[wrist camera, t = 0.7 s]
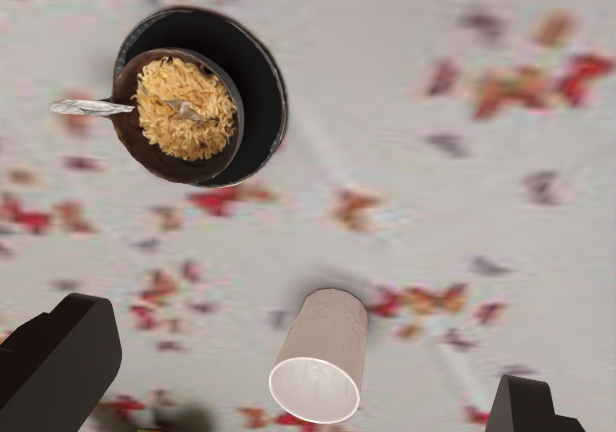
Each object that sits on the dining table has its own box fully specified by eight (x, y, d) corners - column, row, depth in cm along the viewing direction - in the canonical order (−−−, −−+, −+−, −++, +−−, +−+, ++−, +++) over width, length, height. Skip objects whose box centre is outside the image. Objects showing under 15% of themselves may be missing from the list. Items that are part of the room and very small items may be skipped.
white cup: (312, 270, 51) (285, 343, 43) (387, 304, 51) (375, 384, 43) (286, 323, 55) (256, 399, 47) (355, 354, 55) (338, 436, 47)
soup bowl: (237, 209, 50) (206, 253, 43) (88, 110, 48) (34, 141, 42) (322, 81, 42) (300, 113, 35) (147, -44, 40) (91, -33, 34)
